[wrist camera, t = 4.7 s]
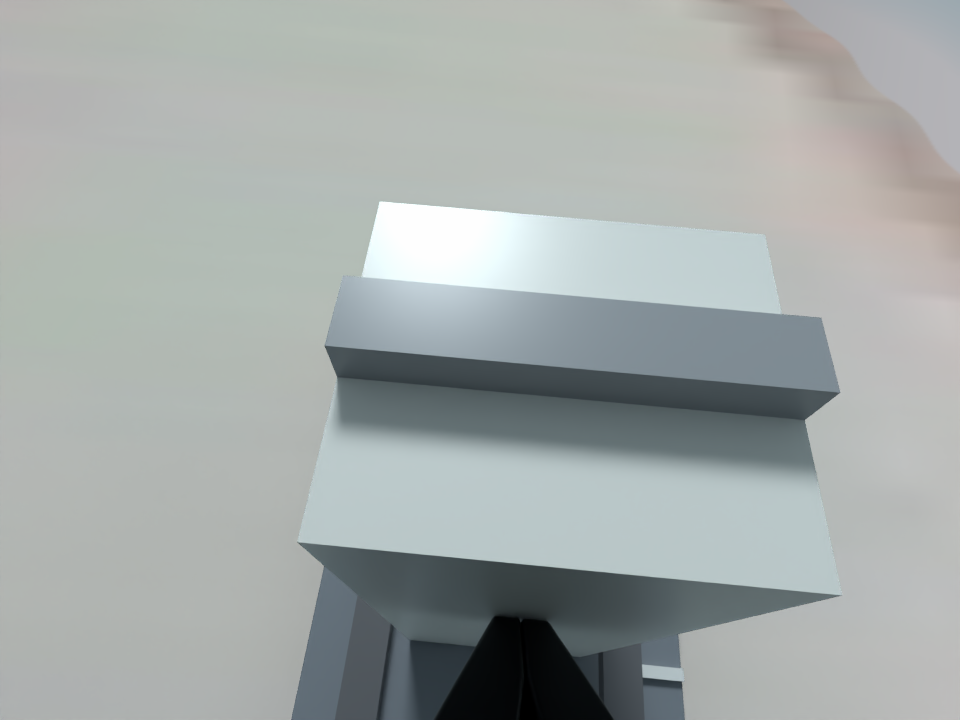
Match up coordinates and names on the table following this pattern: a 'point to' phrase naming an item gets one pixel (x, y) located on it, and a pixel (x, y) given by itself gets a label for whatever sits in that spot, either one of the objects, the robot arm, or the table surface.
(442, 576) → the fader cap
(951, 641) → the table surface
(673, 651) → the fader track base
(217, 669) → the table surface
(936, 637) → the table surface
